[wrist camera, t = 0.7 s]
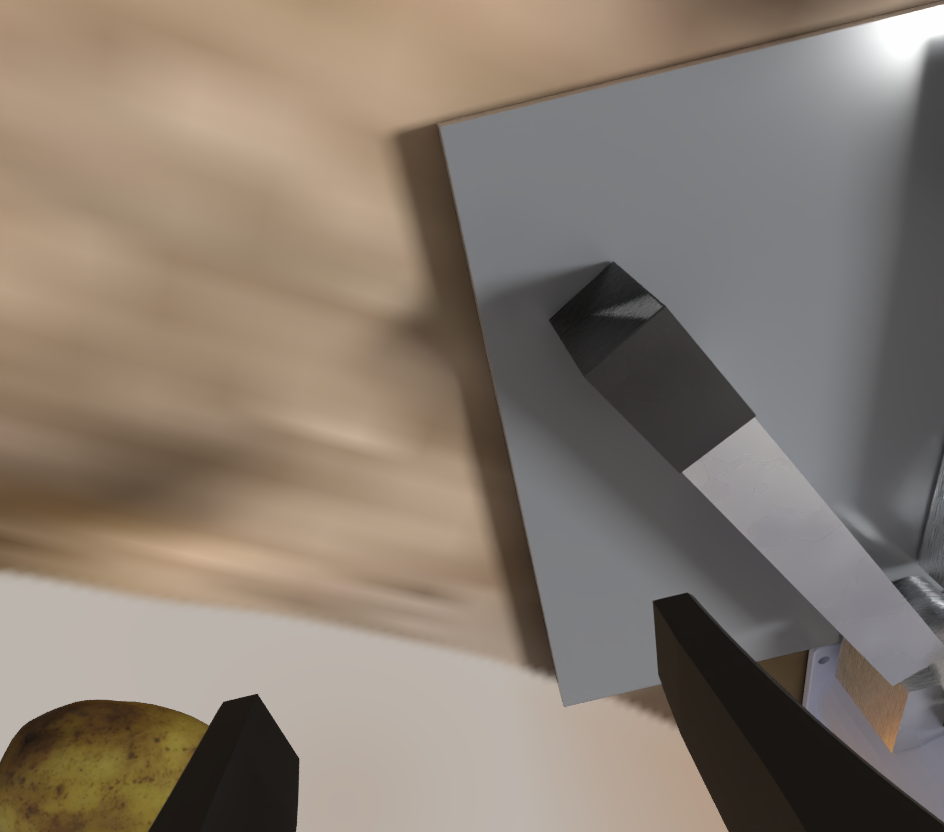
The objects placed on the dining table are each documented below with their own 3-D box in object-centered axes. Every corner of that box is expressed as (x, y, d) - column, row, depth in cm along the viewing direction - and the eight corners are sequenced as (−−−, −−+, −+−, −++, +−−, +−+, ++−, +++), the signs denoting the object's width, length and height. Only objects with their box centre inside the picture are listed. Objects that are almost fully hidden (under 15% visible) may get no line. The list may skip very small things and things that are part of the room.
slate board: (973, 584, 26) (997, 605, 25) (557, 682, 27) (563, 706, 26) (1179, -58, 15) (1238, -68, 14) (436, 123, 15) (439, 127, 14)
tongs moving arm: (881, 578, 24) (954, 655, 20) (829, 610, 24) (893, 689, 21) (613, 260, 16) (666, 306, 13) (548, 320, 17) (583, 376, 13)
